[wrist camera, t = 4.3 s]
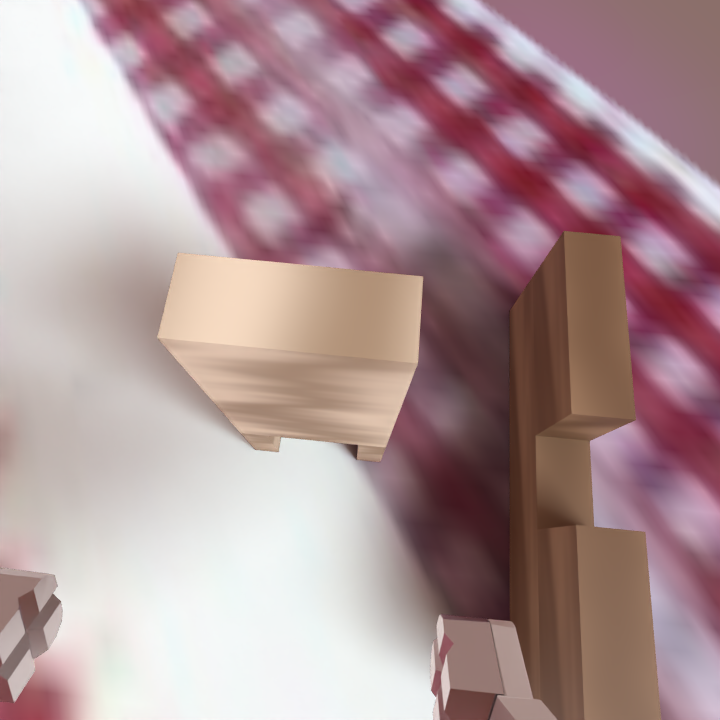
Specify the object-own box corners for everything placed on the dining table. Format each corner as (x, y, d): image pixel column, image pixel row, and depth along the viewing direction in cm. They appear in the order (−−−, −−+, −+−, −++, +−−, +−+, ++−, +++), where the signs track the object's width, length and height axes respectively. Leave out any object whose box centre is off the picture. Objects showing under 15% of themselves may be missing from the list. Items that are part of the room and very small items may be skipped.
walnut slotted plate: (509, 723, 23) (588, 805, 16) (509, 311, 30) (563, 231, 23) (564, 729, 23) (668, 814, 16) (551, 315, 30) (620, 236, 23)
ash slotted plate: (255, 449, 27) (157, 337, 13) (262, 404, 28) (178, 252, 14) (380, 462, 27) (417, 363, 13) (383, 416, 28) (423, 276, 14)
